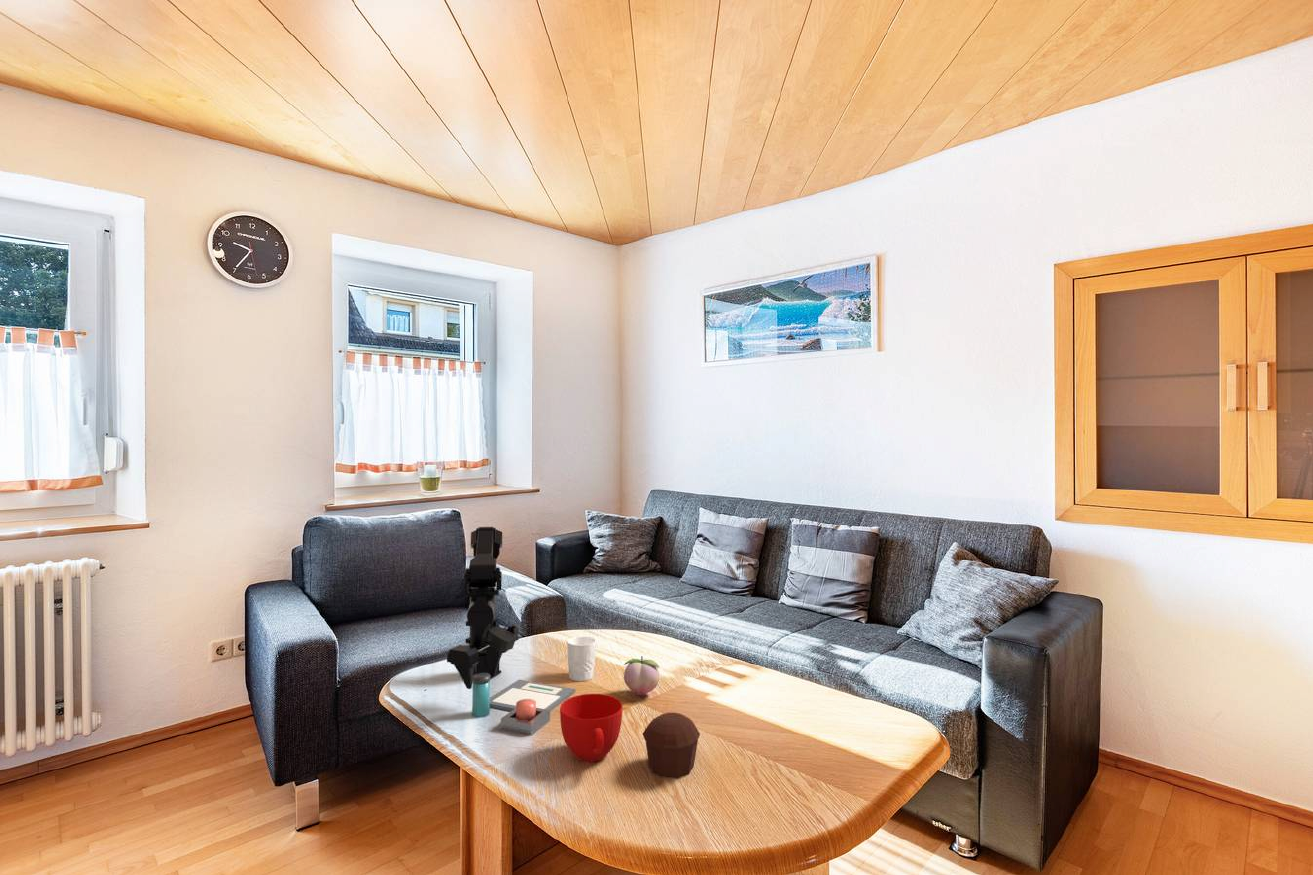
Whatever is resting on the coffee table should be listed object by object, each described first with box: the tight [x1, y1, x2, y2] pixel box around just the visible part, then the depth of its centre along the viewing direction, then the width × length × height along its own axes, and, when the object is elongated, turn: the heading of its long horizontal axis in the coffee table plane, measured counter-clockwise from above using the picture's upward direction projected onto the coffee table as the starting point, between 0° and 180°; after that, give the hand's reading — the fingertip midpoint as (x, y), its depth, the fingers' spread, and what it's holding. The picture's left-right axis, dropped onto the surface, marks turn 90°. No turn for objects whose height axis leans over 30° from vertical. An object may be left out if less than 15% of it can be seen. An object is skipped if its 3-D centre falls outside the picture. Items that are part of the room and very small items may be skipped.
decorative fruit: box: [623, 655, 660, 696], centre depth 163 cm, size 9×8×10 cm
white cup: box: [566, 635, 597, 682], centre depth 174 cm, size 8×8×10 cm
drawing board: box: [490, 679, 576, 712], centre depth 159 cm, size 17×16×1 cm
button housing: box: [500, 708, 551, 736], centre depth 145 cm, size 8×8×2 cm
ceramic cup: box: [559, 693, 624, 763], centre depth 130 cm, size 13×17×10 cm
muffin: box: [642, 712, 701, 779], centre depth 127 cm, size 12×11×10 cm
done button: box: [516, 699, 536, 721], centre depth 145 cm, size 4×4×4 cm
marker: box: [471, 673, 491, 719], centre depth 150 cm, size 4×4×9 cm
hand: (481, 681), depth 150 cm, fingers open, 9 cm apart
